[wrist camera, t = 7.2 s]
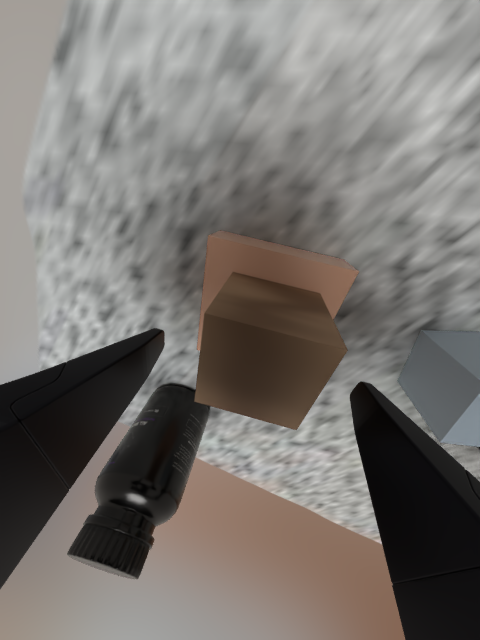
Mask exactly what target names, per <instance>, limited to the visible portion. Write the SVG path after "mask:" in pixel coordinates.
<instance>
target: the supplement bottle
mask: <svg viewBox="0 0 480 640" xmlns="http://www.w3.org/2000/svg"><path fill="white" fill-rule="evenodd" d="M194 401H195V392H193V391H192V390H190V389H187V388H184V387H181V386H174V385H170V386H164V387H161V388H159V389H157V390H156V391H155V392H154V393H153V394H152V396H151V397H150V399H149V400H148V402H147V403H146V405H145V406H144V408H143V409H142V411H141V412H140V414H139V415H138V417H137V418H136V420H135V421H134V423H133V424H132V426H131V427H130V429H129V430H128V432H127V434H126V435H125V436H124V438H123V439H122V441H121V442H120V444H119V446H118V447H117V449H116V450H115V452H114V453H113V455H112V456H111V458H110V459H109V461H108V462H107V464H106V465H105V467H104V468H103V470H102V472H101V473H100V475H99V476H98V478H97V481H96V485H95V496H96V499H97V502H98V505H99V506H98V508H97V510H96V511H95V513H94V514H93V515H89V516H88V517H87V519H86V521H85V522H84V524H83V525H84V526H83V528H82V529H81V531H80V532H79V534H78V536H77V537H76V539H75V541H74V542H73V544H72V546H71V547H70V549H69V551H68V553H67V555H68V556H69V557H71V558H73V559H75V560H77V561H79V562H81V563H84V564H86V565H89V566H92V567H94V568H97V569H100V570H103V571H106V572H109V573H112V574H115V575H118V576H122V577H126V578H130V579H138V578H139V576H140V573H141V571H142V568H143V565H144V563H145V560H146V558H147V555H148V552H149V550H150V549H151V548H152V545H153V542H154V538H153V537H152V534H153V531H154V529H155V527H156V526H158V525H160V524H163V523H165V522H166V521H168V520H169V519H170V518H171V517H172V516H173V515H174V514H175V513H176V511H177V509H178V507H179V504H180V502H181V499H182V496H183V493H184V490H185V487H186V484H187V481H188V478H189V475H190V472H191V469H192V466H193V463H194V460H195V457H196V454H197V451H198V448H199V445H200V442H201V438H202V435H203V432H204V429H205V426H206V423H207V420H208V416H209V410H208V407H207V405H205V404H201V403H198V402H194Z"/></svg>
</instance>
